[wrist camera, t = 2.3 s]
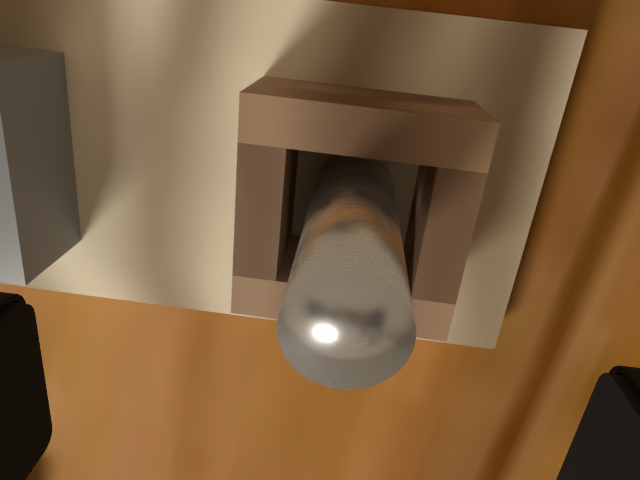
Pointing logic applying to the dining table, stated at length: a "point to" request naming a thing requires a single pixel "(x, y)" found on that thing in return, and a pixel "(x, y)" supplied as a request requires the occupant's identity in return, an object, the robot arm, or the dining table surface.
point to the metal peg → (349, 281)
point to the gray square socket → (35, 164)
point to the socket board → (297, 144)
